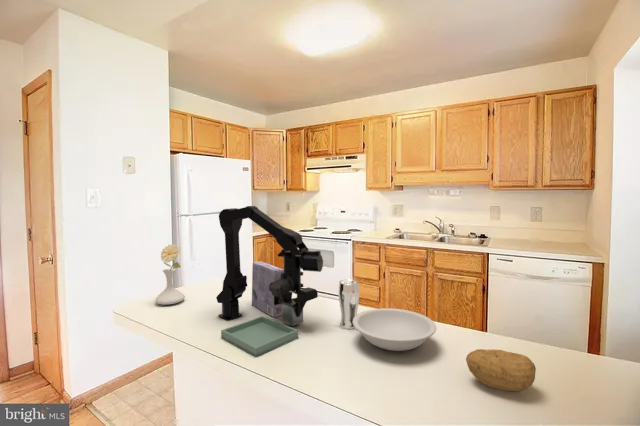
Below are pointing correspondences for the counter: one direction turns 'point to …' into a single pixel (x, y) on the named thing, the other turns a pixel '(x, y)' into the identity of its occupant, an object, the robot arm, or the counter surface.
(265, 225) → the robot arm
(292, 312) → the capped grey block
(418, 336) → the soup bowl
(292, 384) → the counter surface
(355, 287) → the beer glass
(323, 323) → the counter surface
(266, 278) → the cake pan box
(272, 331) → the tray
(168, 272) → the flower in vase
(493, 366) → the potato
